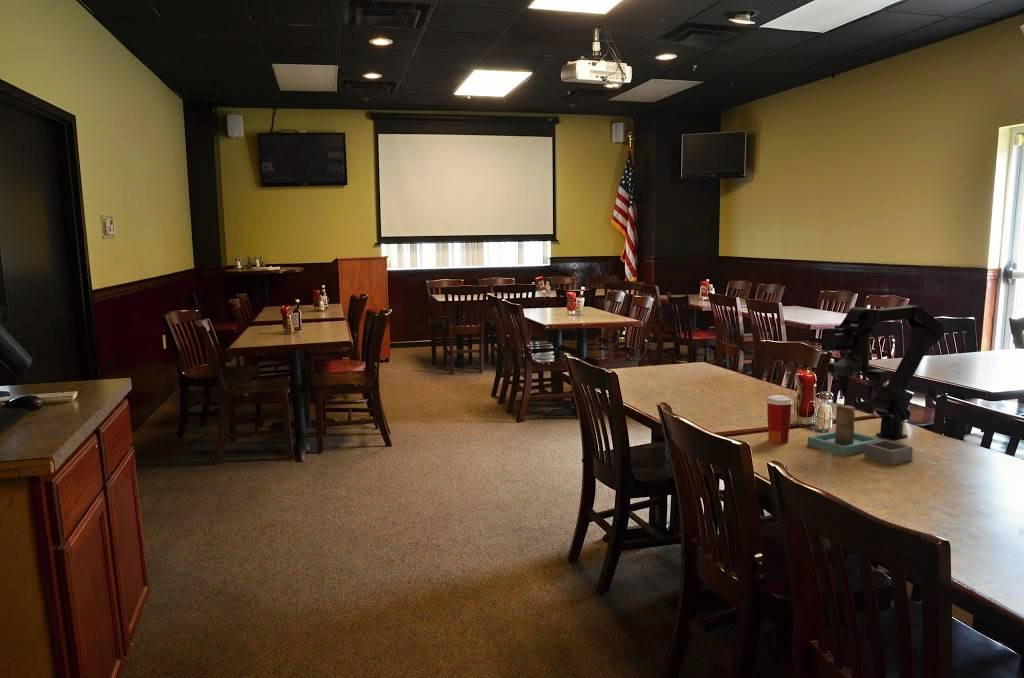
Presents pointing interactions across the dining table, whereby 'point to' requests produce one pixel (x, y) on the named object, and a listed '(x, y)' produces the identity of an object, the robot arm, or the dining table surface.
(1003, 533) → the dining table surface
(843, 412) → the pepper mill
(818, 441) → the tray
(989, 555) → the dining table surface
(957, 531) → the dining table surface
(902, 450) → the holder
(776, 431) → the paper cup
